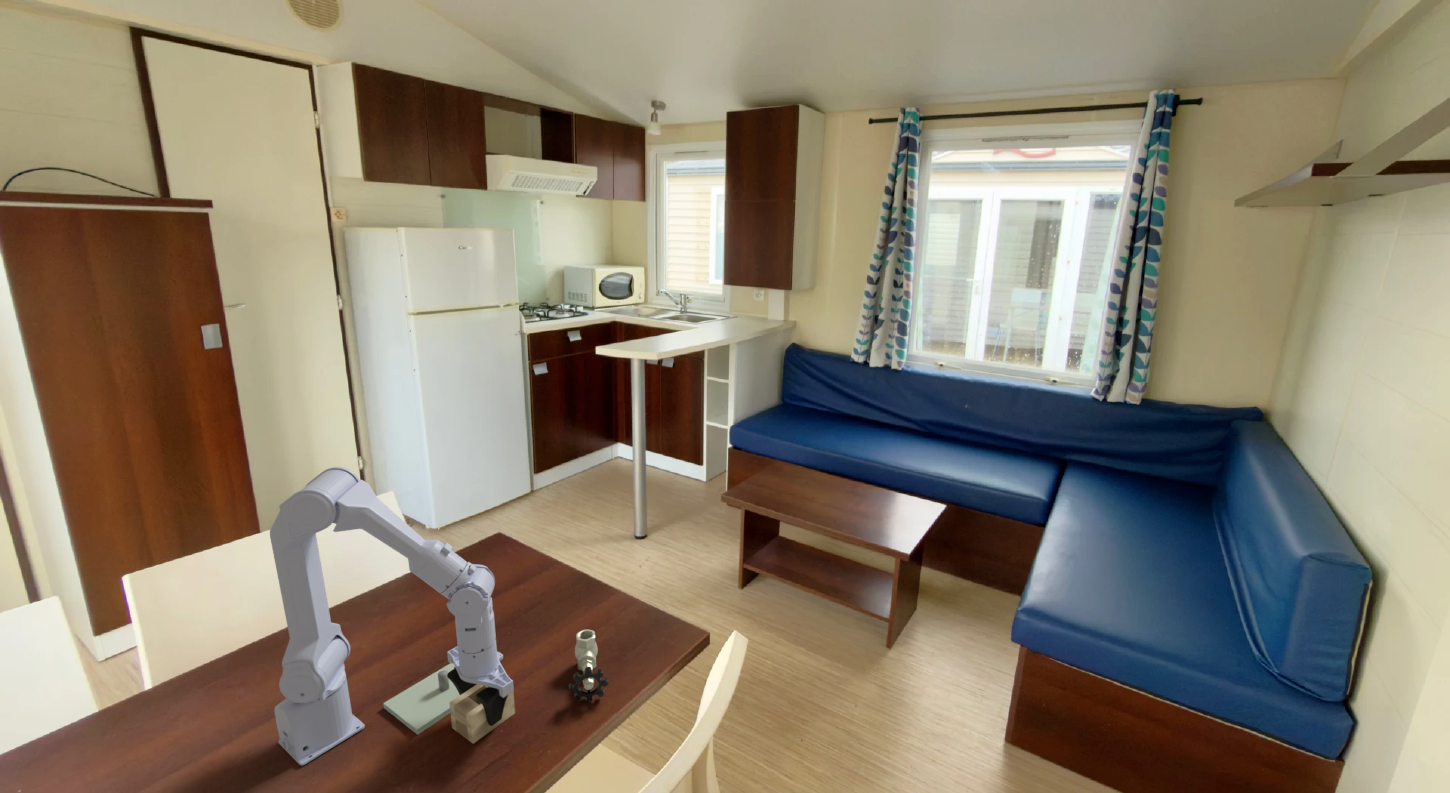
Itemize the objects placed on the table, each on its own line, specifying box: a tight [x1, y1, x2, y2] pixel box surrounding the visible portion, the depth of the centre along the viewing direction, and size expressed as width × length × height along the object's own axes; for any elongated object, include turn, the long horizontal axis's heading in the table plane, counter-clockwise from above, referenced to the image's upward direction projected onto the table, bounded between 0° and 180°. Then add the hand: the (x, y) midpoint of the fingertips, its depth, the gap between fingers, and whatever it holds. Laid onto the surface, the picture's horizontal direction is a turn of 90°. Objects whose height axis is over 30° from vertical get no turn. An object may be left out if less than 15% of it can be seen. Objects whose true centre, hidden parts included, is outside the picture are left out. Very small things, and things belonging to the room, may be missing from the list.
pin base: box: [383, 663, 460, 736], centre depth 109 cm, size 16×10×4 cm, turn 146°
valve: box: [568, 628, 609, 703], centre depth 113 cm, size 7×7×12 cm
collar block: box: [449, 684, 516, 744], centre depth 103 cm, size 8×6×5 cm
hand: (483, 713), depth 104 cm, fingers closed on collar block, 6 cm apart
